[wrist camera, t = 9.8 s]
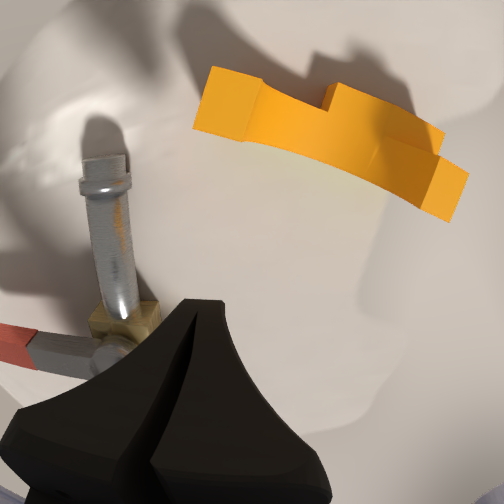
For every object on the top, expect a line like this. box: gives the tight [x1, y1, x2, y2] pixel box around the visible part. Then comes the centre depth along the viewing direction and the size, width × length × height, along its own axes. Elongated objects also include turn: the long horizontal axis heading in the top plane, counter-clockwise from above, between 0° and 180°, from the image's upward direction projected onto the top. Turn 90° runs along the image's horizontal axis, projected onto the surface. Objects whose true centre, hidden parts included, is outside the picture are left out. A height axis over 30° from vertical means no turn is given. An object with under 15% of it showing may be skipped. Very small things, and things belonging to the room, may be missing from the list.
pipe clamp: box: [193, 66, 469, 223], centre depth 14 cm, size 12×4×6 cm, turn 73°
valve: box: [78, 154, 161, 346], centre depth 20 cm, size 19×4×3 cm, turn 178°
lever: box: [0, 323, 137, 380], centre depth 18 cm, size 14×3×2 cm, turn 90°
